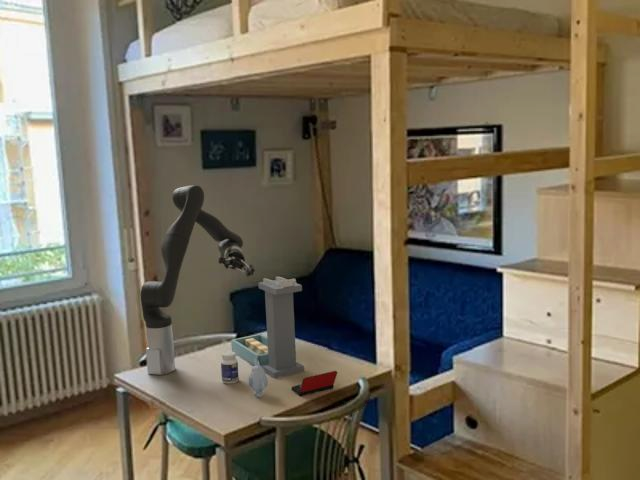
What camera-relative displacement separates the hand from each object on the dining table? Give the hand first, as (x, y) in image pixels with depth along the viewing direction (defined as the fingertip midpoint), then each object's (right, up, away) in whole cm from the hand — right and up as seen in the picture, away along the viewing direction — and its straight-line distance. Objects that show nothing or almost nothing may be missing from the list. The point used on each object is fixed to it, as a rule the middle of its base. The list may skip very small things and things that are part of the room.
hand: (238, 270), depth 241 cm
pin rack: (+18, -35, -13) cm, 42 cm away
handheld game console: (+29, -38, -32) cm, 58 cm away
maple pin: (+8, -32, +5) cm, 34 cm away
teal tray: (+8, -33, +4) cm, 35 cm away
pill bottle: (0, -38, -20) cm, 43 cm away
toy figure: (+11, -39, -34) cm, 53 cm away
